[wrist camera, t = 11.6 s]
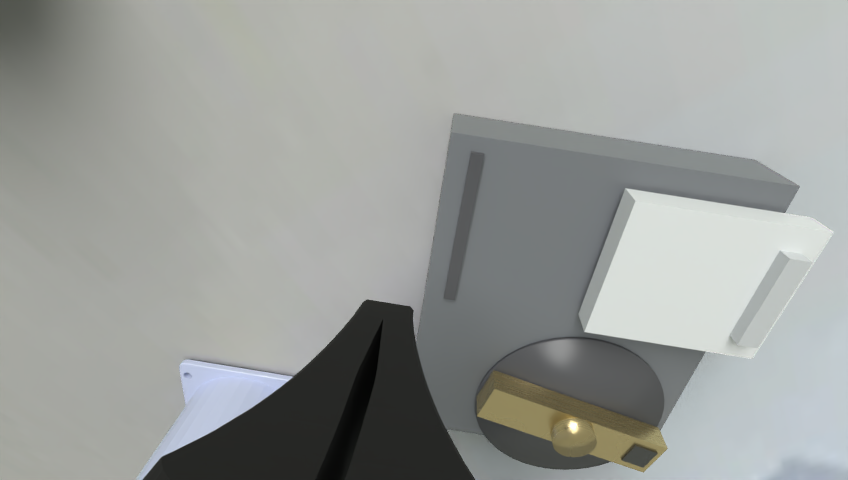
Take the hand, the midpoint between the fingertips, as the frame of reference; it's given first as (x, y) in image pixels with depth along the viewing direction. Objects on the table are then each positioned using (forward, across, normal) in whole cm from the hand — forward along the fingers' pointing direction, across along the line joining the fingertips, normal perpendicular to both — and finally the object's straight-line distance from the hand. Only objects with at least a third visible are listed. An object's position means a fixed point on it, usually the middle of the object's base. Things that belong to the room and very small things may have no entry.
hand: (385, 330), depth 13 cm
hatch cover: (+7, -11, 0) cm, 13 cm away
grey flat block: (+10, -8, +4) cm, 13 cm away
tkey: (+7, -9, +9) cm, 14 cm away
